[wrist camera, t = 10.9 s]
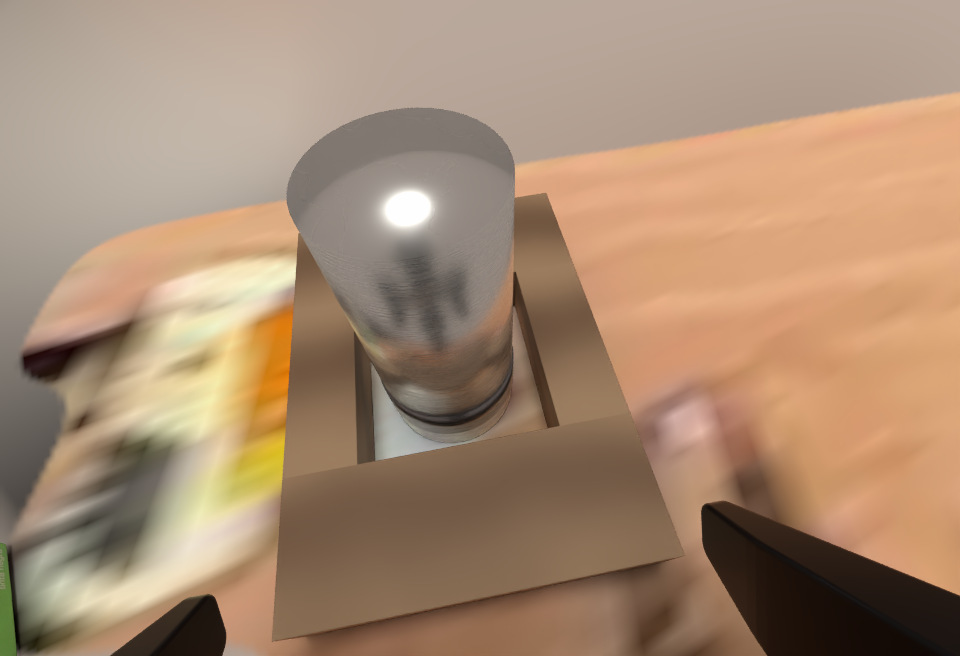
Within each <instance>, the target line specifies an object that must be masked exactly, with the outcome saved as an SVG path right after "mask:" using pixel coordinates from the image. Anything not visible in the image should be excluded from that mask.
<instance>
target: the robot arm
mask: <svg viewBox="0 0 960 656" xmlns="http://www.w3.org/2000/svg"><path fill="white" fill-rule="evenodd" d="M701 519H702V542H703V547H704V550H705V553H706V555H707V557H708V559H709V560H710V562H711V564H712V566H713V567H714V569H715V571H716V572H717V574H718V576H719V578H720V579H721V581H722V583H723V584H724V586H725V588H726V589H727V591H728V593H729V595H730V596H731V598H732V600H733V601H734V603H735V605H736V607H737V608H738V610H739V612H740V613H741V615H742V617H743V618H744V620H745V622H746V624H747V625H748V627H749V629H750V630H751V632H752V633H753V635H754V637H755V638H756V640H757V641H758V643H759V644H760V646H761V647H762V649H763V650H764V652H765V653H766V654H767V656H960V596H959V595H957V594H954V593H952V592H950V591H947V590H945V589H942V588H940V587H937V586H935V585H932V584H930V583H927V582H925V581H922V580H920V579H917V578H915V577H912V576H910V575H908V574H905V573H903V572H900V571H898V570H895V569H893V568H890V567H888V566H885V565H883V564H880V563H878V562H875V561H873V560H871V559H868V558H866V557H863V556H861V555H858V554H856V553H853V552H851V551H848V550H846V549H843V548H841V547H838V546H836V545H833V544H831V543H829V542H826V541H824V540H821V539H819V538H816V537H814V536H811V535H809V534H806V533H804V532H801V531H799V530H796V529H794V528H792V527H789V526H787V525H784V524H782V523H779V522H777V521H774V520H772V519H769V518H767V517H764V516H762V515H759V514H757V513H754V512H752V511H750V510H747V509H745V508H742V507H740V506H737V505H735V504H732V503H730V502H727V501H717V502H712V503H706V504H704V505H703V507H702V510H701ZM225 644H226V630H225V627H224V623H223V620H222V617H221V614H220V611H219V608H218V604H217V601H216V599H215V597H214V596H213V595H210V594H206V595H200V596H194V597H190V598H187V599H185V600H183V601H182V602H181V603H179V604H178V605H177V606H175V607H174V608H173V609H171V610H170V611H169V612H167V613H166V614H165V615H163V616H162V617H161V618H159V619H158V620H157V621H155V622H154V623H153V624H151V625H150V626H149V627H147V628H146V629H145V630H143V631H142V632H141V633H139V634H138V635H137V636H136V637H134V638H133V639H132V640H130V641H129V642H128V643H126V644H125V645H124V646H122V647H121V648H120V649H118V650H117V651H116V652H114V653H113V654H112V655H110V656H222V655H223V652H224V648H225Z"/></svg>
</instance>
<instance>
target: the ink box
mask: <svg viewBox="0 0 960 656" xmlns="http://www.w3.org/2000/svg"><path fill="white" fill-rule="evenodd" d="M0 656H17V650H16V638H15V627H14V617H13V608H12V593H11V585H10V576H9V566H8V557H7V548H6V545H5V544H3V543H0Z"/></svg>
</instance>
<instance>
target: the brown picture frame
mask: <svg viewBox="0 0 960 656" xmlns="http://www.w3.org/2000/svg"><path fill="white" fill-rule="evenodd" d="M514 305H515V307H516V311H517V314H518V318H519V322H520V326H521V329H522V333H523V337H524V340H525V344H526V348H527V351H528V355H529V359H530V363H531V366H532V370H533V374H534V377H535V381H536V385H537V388H538V392H539V396H540V400H541V403H542V407H543V411H544V414H545V418H546V422H547V426H548V428H547V429H541V430H536V431H531V432H526V433H520V434H515V435H510V436H505V437H499V438H494V439H489V440H484V441H478V442H473V443H468V444H463V445H457V446H452V447H447V448H442V449H436V450H431V451H426V452H421V453H415V454H410V455H405V456H400V457H394V458H389V459H384V460H379V461H375V451H374V429H373V408H372V386H371V365H370V358H369V356H368V355H367V353H366V351H365V349H364V347H363V346H362V344H361V342H360V340H359V338H358V337H357V335H356V333H355V331H354V329H353V328H352V326H351V324H350V322H349V320H348V319H347V317H346V315H345V313H344V311H343V310H342V308H341V306H340V304H339V302H338V301H337V299H336V297H335V295H334V293H333V292H332V290H331V288H330V286H329V284H328V283H327V281H326V279H325V277H324V275H323V274H322V272H321V270H320V268H319V267H318V265H317V263H316V261H315V259H314V258H313V256H312V254H311V252H310V250H309V249H308V247H307V245H306V243H305V241H304V240H303V238H302V236H301V234H300V233H299V235H298V250H297V265H296V281H295V296H294V311H293V327H292V342H291V357H290V373H289V388H288V403H287V419H286V434H285V449H284V464H283V480H282V495H281V510H280V526H279V541H278V556H277V572H276V587H275V602H274V618H273V633H272V642H273V641H279V640H286V639H293V638H300V637H307V636H311V635H316V634H321V633H326V632H331V631H335V630H340V629H345V628H350V627H355V626H359V625H364V624H369V623H374V622H379V621H383V620H388V619H393V618H398V617H403V616H407V615H412V614H417V613H422V612H427V611H431V610H436V609H441V608H446V607H451V606H455V605H460V604H465V603H470V602H475V601H479V600H484V599H489V598H494V597H499V596H503V595H508V594H513V593H518V592H523V591H527V590H532V589H537V588H542V587H547V586H551V585H556V584H561V583H566V582H571V581H575V580H580V579H585V578H590V577H595V576H599V575H604V574H609V573H614V572H619V571H623V570H628V569H633V568H638V567H643V566H647V565H652V564H657V563H661V562H665V561H668V560H672V559H675V558H679V557H682V556H685V555H684V552H683V549H682V547H681V544H680V542H679V539H678V536H677V534H676V531H675V528H674V526H673V523H672V521H671V518H670V515H669V513H668V510H667V508H666V505H665V502H664V500H663V497H662V494H661V492H660V489H659V487H658V484H657V481H656V479H655V476H654V474H653V471H652V468H651V466H650V463H649V461H648V458H647V455H646V453H645V450H644V447H643V445H642V442H641V440H640V437H639V434H638V432H637V429H636V427H635V424H634V421H633V419H632V416H631V413H630V411H629V408H628V406H627V403H626V400H625V398H624V395H623V393H622V390H621V387H620V385H619V382H618V379H617V377H616V374H615V372H614V369H613V366H612V364H611V361H610V359H609V356H608V353H607V351H606V348H605V345H604V343H603V340H602V338H601V335H600V332H599V330H598V327H597V325H596V322H595V319H594V317H593V314H592V311H591V309H590V306H589V304H588V301H587V298H586V296H585V293H584V291H583V288H582V285H581V283H580V280H579V277H578V275H577V272H576V270H575V267H574V264H573V262H572V259H571V257H570V254H569V251H568V249H567V246H566V243H565V241H564V238H563V236H562V233H561V230H560V228H559V225H558V223H557V220H556V217H555V215H554V212H553V210H552V207H551V204H550V202H549V199H548V196H547V194H546V193H542V194H536V195H530V196H524V197H517V198H514V261H513V306H514Z"/></svg>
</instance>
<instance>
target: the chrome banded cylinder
mask: <svg viewBox="0 0 960 656" xmlns="http://www.w3.org/2000/svg"><path fill="white" fill-rule="evenodd" d="M514 197H515V167H514V161H513V157H512V154H511V152H510V150H509V148H508V146H507V144H506V143H505V142H504V141H503V139H502V138H501V137H500V136H499V135H498V134H497V133H496V132H495V131H494V130H492V129H491V128H490V127H488V126H487V125H486V124H483V123H482V122H480V121H478V120H476V119H474V118H471V117H469V116H467V115H464V114H460V113H457V112H453V111H448V110H443V109H434V108H405V109H396V110H389V111H384V112H380V113H375V114H372V115H368V116H365V117H363V118H359V119H357V120H354V121H352V122H350V123H348V124H345V125H343V126H341V127H339V128H338V129H336V130H334V131H332V132H330V133H329V134H327V135H326V136H324V137H323V138H322V139H320V140H319V141H318V142H317V143H315V144H314V145H313V146H312V147H311V148H310V149H309V150H308V151H307V152H306V153H305V154H304V155H303V157H302V158H301V159H300V161H299V162H298V163H297V165H296V167H295V168H294V170H293V172H292V174H291V177H290V180H289V183H288V188H287V205H288V209H289V213H290V215H291V217H292V219H293V221H294V223H295V225H296V227H297V229H298V231H299V232H300V234H301V236H302V238H303V240H304V241H305V243H306V245H307V247H308V249H309V250H310V252H311V254H312V256H313V258H314V259H315V261H316V263H317V265H318V267H319V268H320V270H321V272H322V274H323V275H324V277H325V279H326V281H327V283H328V284H329V286H330V288H331V290H332V292H333V293H334V295H335V297H336V299H337V301H338V302H339V304H340V306H341V308H342V310H343V311H344V313H345V315H346V317H347V319H348V320H349V322H350V324H351V326H352V328H353V329H354V331H355V333H356V335H357V337H358V338H359V340H360V342H361V344H362V346H363V347H364V349H365V351H366V353H367V355H368V356H369V358H370V360H371V362H372V364H373V365H374V367H375V369H376V371H377V373H378V374H379V376H380V378H381V381H382V384H383V386H384V388H385V390H386V392H387V393H388V395H389V397H390V399H391V401H392V402H393V404H394V406H395V407H396V409H397V410H398V412H399V413H400V414H401V416H402V417H403V419H404V420H405V422H406V423H407V424H408V425H409V426H410V427H411V428H412V429H413V430H414V431H415V432H417V433H418V434H420V435H422V436H423V437H425V438H428V439H430V440H434V441H438V442H444V443H457V442H463V441H467V440H471V439H473V438H476V437H478V436H480V435H482V434H483V433H485V432H487V431H488V430H489V429H491V428H492V427H493V426H494V425H495V424H496V423H497V422H498V421H499V419H500V418H501V417H502V416H503V414H504V412H505V410H506V408H507V406H508V403H509V400H510V396H511V388H512V380H513V346H512V326H513V261H514Z"/></svg>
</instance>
